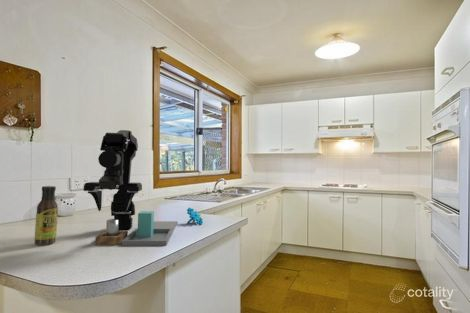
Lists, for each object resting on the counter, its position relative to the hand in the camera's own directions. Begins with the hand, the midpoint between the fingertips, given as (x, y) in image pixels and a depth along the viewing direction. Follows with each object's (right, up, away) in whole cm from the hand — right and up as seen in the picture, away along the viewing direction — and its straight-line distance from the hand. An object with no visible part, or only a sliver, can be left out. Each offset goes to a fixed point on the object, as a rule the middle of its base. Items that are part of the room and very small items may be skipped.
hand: (112, 210), depth 100 cm
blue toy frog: (+25, -13, +33) cm, 43 cm away
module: (+9, -11, +9) cm, 17 cm away
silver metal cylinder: (0, -11, 0) cm, 11 cm away
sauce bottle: (-22, -11, -3) cm, 25 cm away
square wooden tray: (0, -11, 0) cm, 11 cm away
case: (+11, -12, +14) cm, 21 cm away
